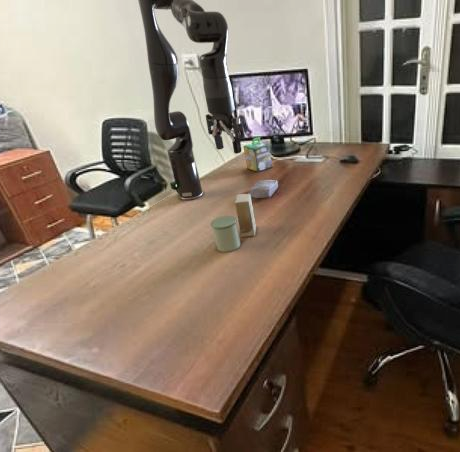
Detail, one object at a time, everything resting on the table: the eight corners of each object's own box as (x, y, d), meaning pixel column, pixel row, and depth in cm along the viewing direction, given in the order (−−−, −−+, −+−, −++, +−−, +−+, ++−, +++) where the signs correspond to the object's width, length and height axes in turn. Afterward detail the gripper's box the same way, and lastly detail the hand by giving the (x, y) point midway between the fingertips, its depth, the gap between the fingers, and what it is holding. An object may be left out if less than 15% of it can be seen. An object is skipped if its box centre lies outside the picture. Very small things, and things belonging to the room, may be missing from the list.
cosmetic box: (243, 228, 116) (236, 194, 110) (256, 227, 116) (250, 192, 110) (241, 237, 110) (234, 202, 104) (254, 236, 110) (248, 201, 105)
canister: (211, 247, 106) (205, 223, 102) (230, 237, 111) (225, 213, 107) (226, 254, 102) (221, 229, 98) (246, 243, 107) (241, 219, 103)
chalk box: (261, 163, 176) (257, 134, 170) (272, 166, 171) (268, 136, 164) (246, 168, 171) (241, 138, 164) (257, 172, 165) (253, 141, 158)
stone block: (248, 202, 139) (271, 197, 136) (244, 190, 137) (267, 186, 134) (259, 191, 149) (280, 187, 146) (255, 180, 147) (277, 176, 144)
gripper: (245, 93, 97) (253, 151, 104) (214, 91, 105) (224, 144, 113) (223, 98, 92) (234, 158, 100) (192, 95, 100) (204, 150, 108)
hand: (228, 150), depth 106 cm, fingers open, 8 cm apart
